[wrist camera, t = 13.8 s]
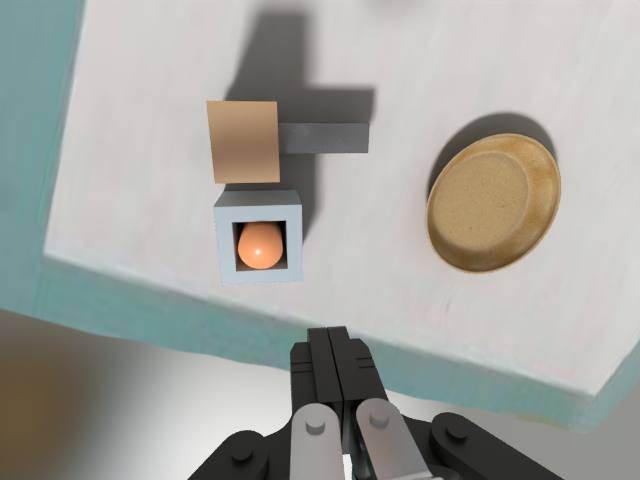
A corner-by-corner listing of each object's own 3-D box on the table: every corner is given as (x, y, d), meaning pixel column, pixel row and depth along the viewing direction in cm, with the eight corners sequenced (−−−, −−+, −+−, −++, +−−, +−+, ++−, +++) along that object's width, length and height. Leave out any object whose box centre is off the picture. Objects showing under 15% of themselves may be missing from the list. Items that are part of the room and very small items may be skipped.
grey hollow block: (223, 191, 31) (213, 207, 26) (296, 189, 32) (301, 204, 27) (230, 258, 34) (221, 286, 28) (298, 255, 35) (302, 281, 29)
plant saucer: (548, 120, 34) (570, 120, 31) (537, 250, 39) (555, 258, 37) (410, 146, 33) (421, 148, 30) (418, 276, 38) (428, 286, 36)
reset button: (242, 209, 32) (236, 229, 26) (280, 208, 32) (281, 227, 27) (245, 244, 33) (240, 270, 27) (281, 242, 33) (283, 267, 28)
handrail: (216, 122, 29) (209, 123, 26) (359, 122, 31) (369, 123, 28) (219, 150, 30) (213, 154, 27) (357, 149, 32) (368, 152, 28)
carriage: (222, 105, 27) (206, 100, 21) (275, 105, 28) (276, 101, 21) (228, 167, 29) (215, 183, 22) (278, 167, 30) (279, 182, 23)
